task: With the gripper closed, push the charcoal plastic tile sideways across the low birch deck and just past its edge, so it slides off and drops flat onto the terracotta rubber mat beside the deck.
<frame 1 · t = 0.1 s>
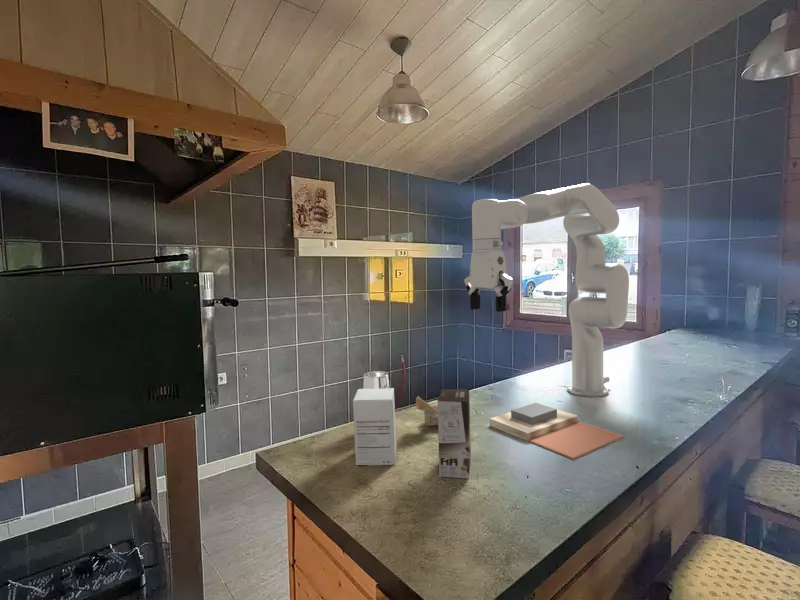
hand: (487, 310, 115), 31 cm above the counter, tool pointing down, fingers open, 9 cm apart
mat: (576, 439, 103), on the counter
oil lamp: (443, 422, 118), on the counter
supplement box: (376, 457, 97), on the counter
deck: (534, 424, 114), on the counter
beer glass: (378, 429, 115), on the counter
tile: (533, 413, 114), point 3 cm above the counter, touching deck
coffee box: (455, 468, 91), on the counter
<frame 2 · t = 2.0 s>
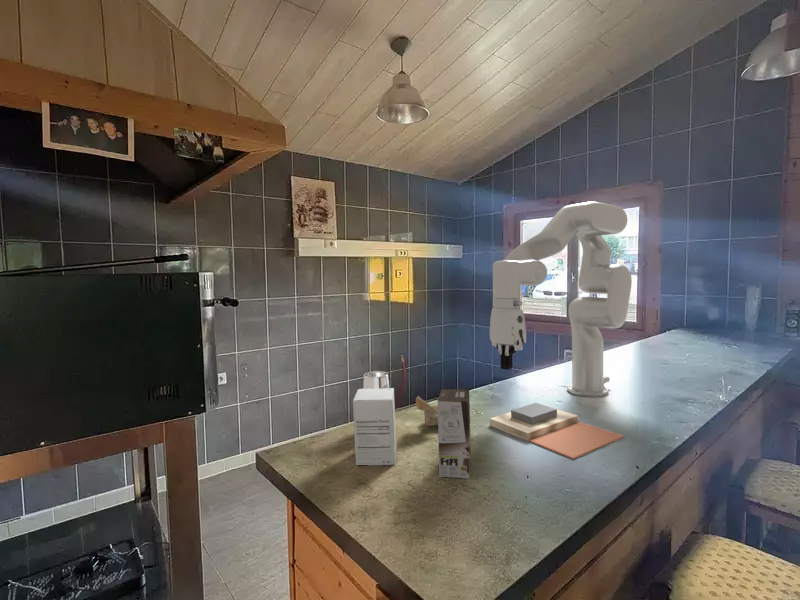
hand: (506, 368, 120), 14 cm above the counter, tool pointing down, fingers closed
nothing on the counter moved.
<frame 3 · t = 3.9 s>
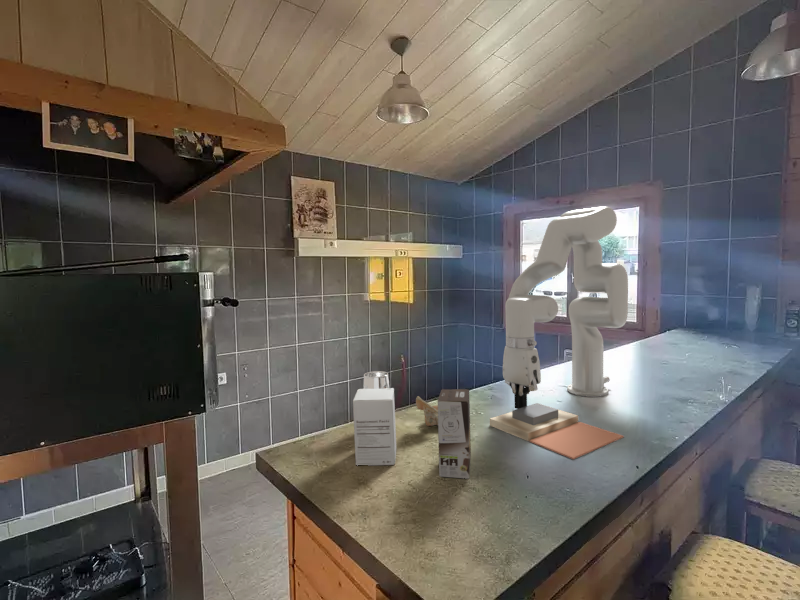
hand: (520, 407, 118), 3 cm above the counter, tool pointing down, fingers closed
tile: (535, 413, 114), point 3 cm above the counter, touching gripper
everything else where it was.
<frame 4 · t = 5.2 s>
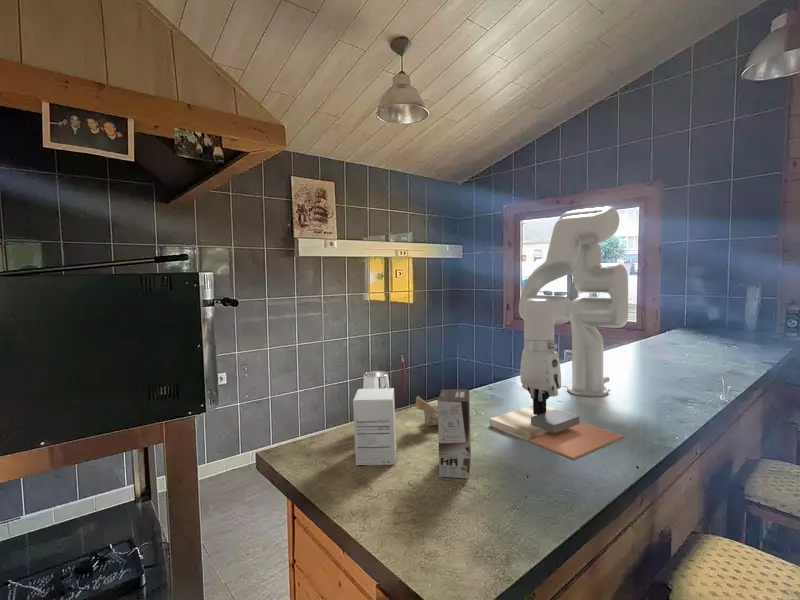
hand: (539, 413, 112), 3 cm above the counter, tool pointing down, fingers closed
tile: (555, 420, 108), point 3 cm above the counter, touching deck, gripper
everything else where it was.
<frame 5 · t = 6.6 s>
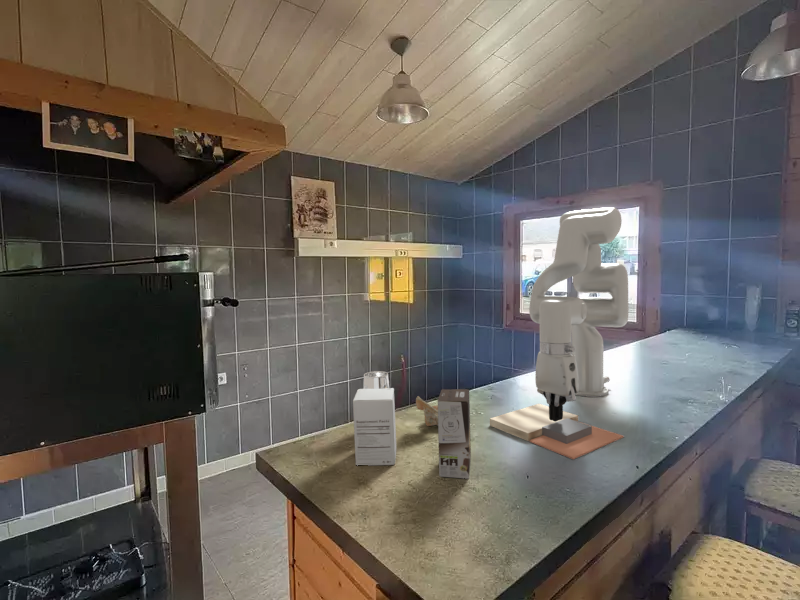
hand: (555, 419, 108), 3 cm above the counter, tool pointing down, fingers closed
tile: (566, 430, 106), point 1 cm above the counter, touching mat
everything else where it was.
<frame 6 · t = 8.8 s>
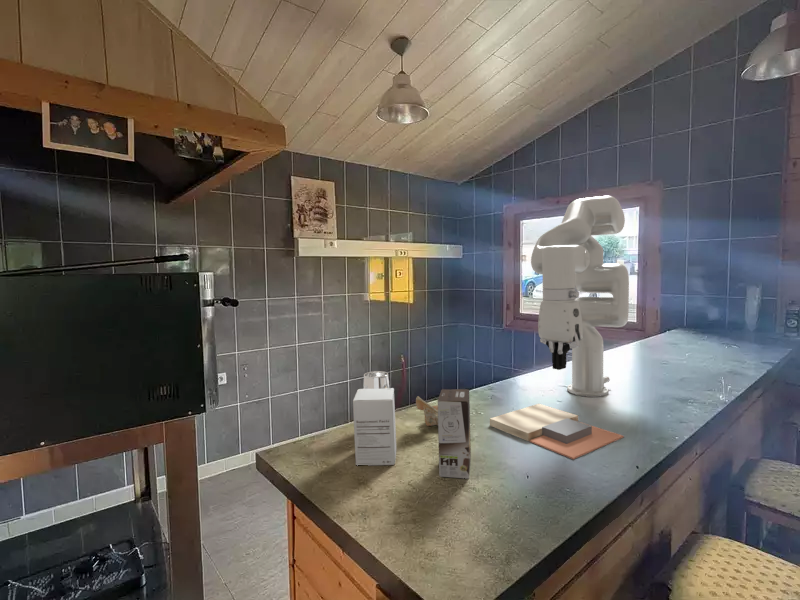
hand: (559, 368, 106), 17 cm above the counter, tool pointing down, fingers closed
nothing on the counter moved.
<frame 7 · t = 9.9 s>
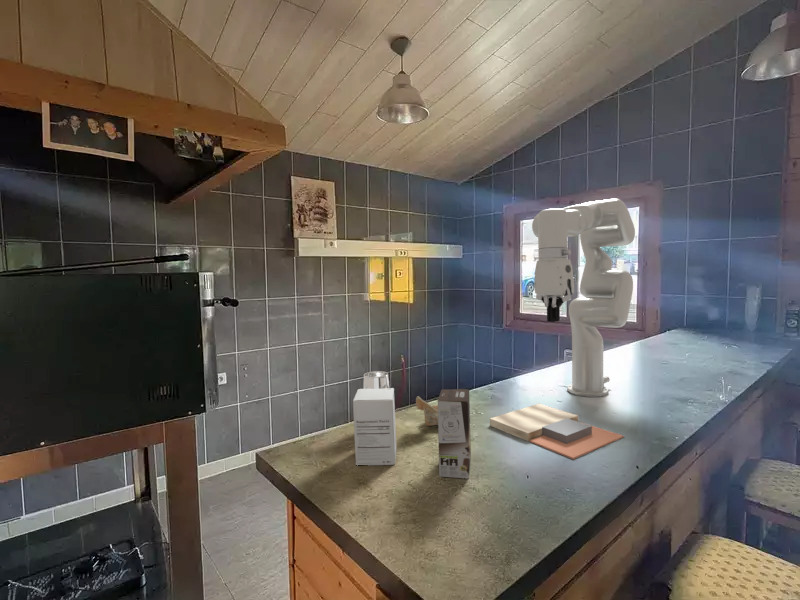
hand: (553, 321, 117), 27 cm above the counter, tool pointing down, fingers closed
nothing on the counter moved.
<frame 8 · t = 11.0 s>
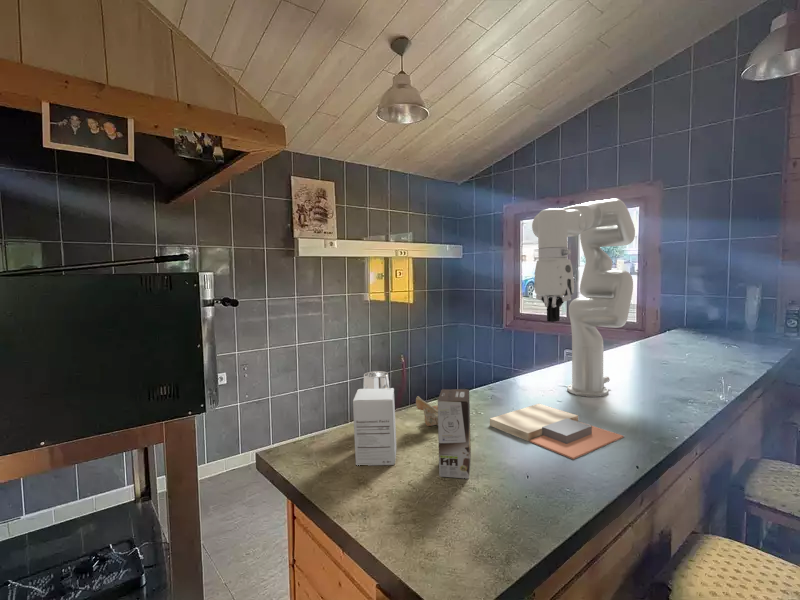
hand: (553, 321, 117), 27 cm above the counter, tool pointing down, fingers closed
nothing on the counter moved.
at the end: tile inside the target area on the mat (2.8 cm from its centre), point 1.4 cm above the mat's base; tile moved 10.2 cm from its start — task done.
